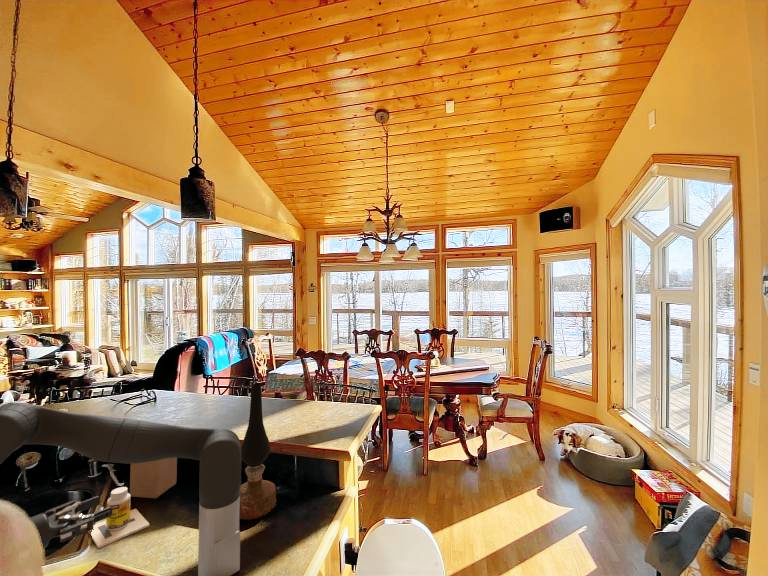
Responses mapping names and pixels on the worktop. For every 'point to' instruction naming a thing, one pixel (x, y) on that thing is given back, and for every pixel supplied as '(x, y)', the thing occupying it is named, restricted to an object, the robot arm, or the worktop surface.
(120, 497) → the supplement bottle
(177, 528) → the worktop surface
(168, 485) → the wooden block
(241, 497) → the oil lamp
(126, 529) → the letter board
